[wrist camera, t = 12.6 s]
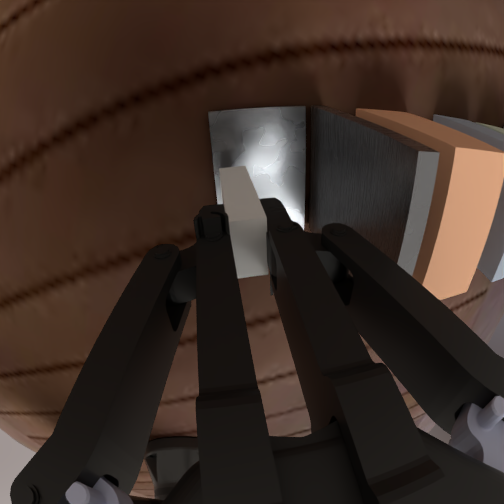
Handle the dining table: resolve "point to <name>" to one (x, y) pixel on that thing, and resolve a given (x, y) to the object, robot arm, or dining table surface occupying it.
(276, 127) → the bookend
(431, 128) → the book rust
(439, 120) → the book slate
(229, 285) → the robot arm
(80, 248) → the dining table surface
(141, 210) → the dining table surface
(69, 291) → the dining table surface
